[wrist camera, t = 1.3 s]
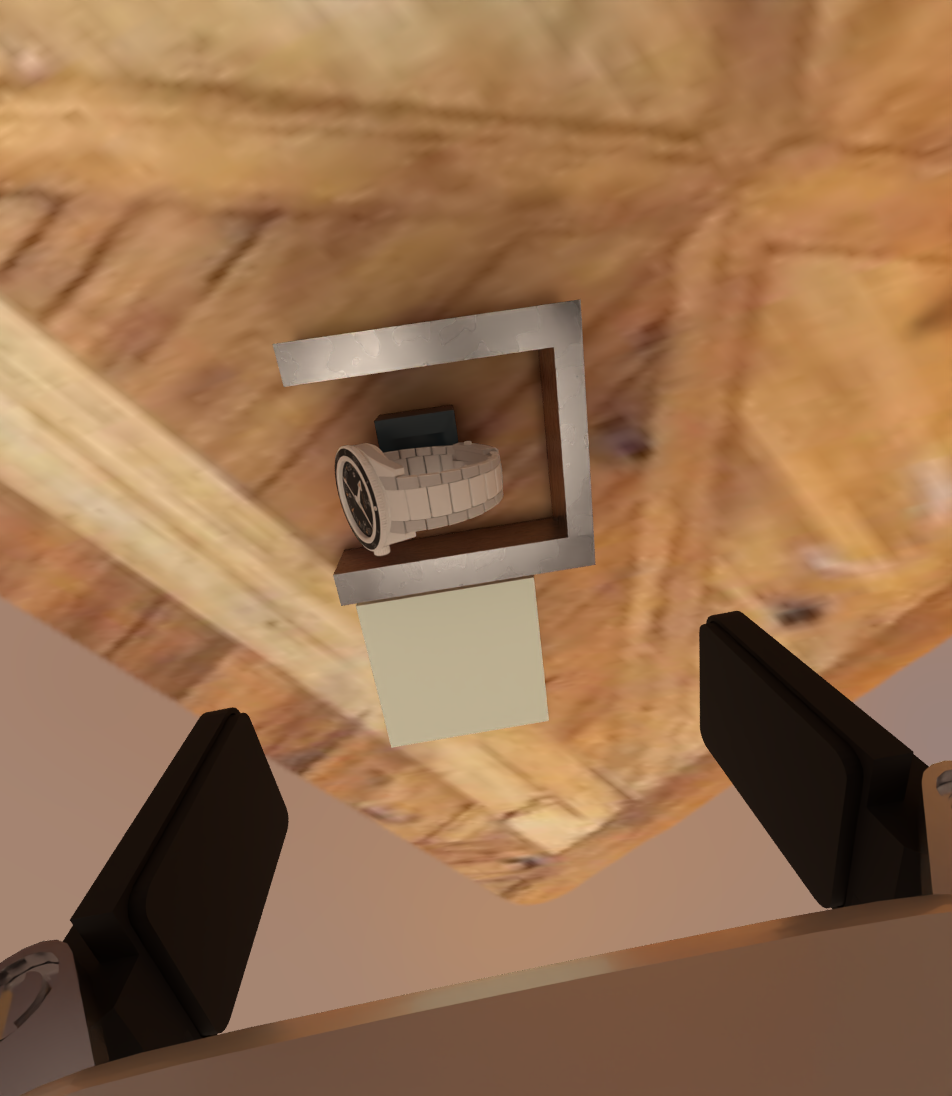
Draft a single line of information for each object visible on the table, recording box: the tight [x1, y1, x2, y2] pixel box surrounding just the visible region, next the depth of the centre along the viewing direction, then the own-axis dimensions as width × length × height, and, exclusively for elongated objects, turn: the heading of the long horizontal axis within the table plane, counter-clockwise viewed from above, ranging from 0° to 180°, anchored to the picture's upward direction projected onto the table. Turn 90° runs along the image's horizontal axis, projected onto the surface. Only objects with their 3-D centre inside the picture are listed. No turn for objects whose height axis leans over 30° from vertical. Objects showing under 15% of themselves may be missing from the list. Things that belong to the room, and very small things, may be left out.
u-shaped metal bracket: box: [273, 300, 595, 606], centre depth 29 cm, size 14×15×4 cm
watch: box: [335, 405, 503, 556], centre depth 26 cm, size 6×8×11 cm
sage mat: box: [356, 575, 549, 748], centre depth 36 cm, size 12×12×1 cm
